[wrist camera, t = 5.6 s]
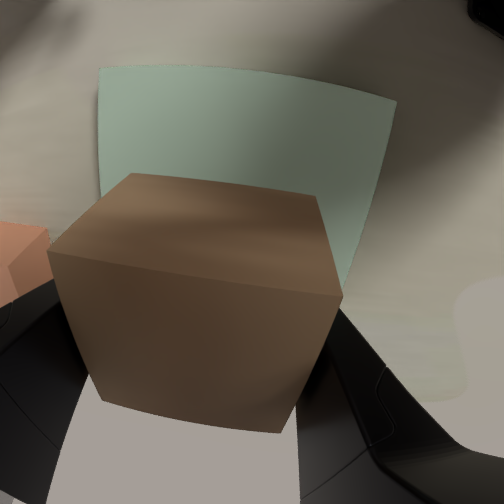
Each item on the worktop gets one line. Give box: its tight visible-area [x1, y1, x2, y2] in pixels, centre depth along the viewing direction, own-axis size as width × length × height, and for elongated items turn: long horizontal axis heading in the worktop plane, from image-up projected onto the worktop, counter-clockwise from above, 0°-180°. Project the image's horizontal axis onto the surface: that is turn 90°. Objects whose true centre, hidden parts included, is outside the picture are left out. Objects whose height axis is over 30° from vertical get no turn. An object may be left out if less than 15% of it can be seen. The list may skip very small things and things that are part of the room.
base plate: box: [98, 65, 397, 289], centre depth 13 cm, size 11×11×2 cm
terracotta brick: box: [0, 221, 54, 308], centre depth 15 cm, size 5×5×4 cm
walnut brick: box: [46, 173, 343, 433], centre depth 8 cm, size 5×5×4 cm
